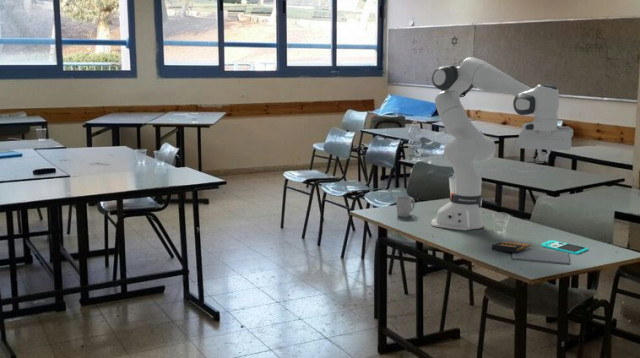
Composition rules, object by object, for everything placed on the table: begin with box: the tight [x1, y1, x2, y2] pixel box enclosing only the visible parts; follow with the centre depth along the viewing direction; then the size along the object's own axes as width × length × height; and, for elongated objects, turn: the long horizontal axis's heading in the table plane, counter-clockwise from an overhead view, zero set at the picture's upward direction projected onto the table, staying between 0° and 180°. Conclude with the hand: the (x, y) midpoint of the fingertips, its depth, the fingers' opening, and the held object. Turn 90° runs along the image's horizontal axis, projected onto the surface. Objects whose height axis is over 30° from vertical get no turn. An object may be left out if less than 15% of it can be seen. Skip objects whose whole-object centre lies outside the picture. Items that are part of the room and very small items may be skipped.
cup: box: [395, 195, 416, 218], centre depth 315 cm, size 8×10×8 cm
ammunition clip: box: [491, 241, 532, 253], centre depth 261 cm, size 11×2×12 cm
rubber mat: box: [511, 248, 571, 265], centre depth 253 cm, size 20×14×1 cm
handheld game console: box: [540, 239, 589, 256], centre depth 264 cm, size 10×16×1 cm, turn 43°
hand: (543, 160), depth 268 cm, fingers closed
